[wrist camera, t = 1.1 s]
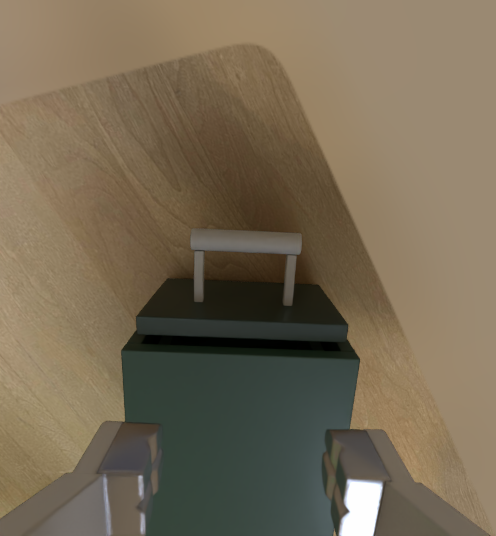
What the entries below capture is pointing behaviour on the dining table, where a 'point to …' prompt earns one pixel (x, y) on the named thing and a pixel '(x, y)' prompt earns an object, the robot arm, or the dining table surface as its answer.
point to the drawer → (242, 301)
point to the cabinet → (240, 433)
